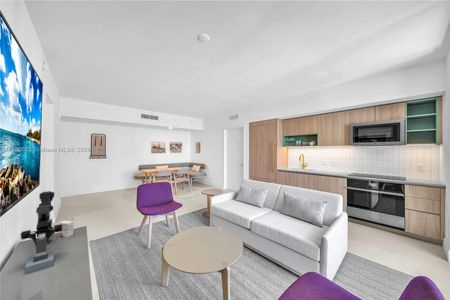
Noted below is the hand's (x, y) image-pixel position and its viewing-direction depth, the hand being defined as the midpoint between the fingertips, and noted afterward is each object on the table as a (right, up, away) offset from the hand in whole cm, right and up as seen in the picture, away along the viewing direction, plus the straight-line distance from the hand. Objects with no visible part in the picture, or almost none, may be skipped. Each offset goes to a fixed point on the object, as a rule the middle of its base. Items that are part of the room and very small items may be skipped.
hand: (41, 244), depth 111 cm
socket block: (-1, -13, +1) cm, 13 cm away
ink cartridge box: (-19, -13, +38) cm, 44 cm away
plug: (-1, -7, +1) cm, 7 cm away
